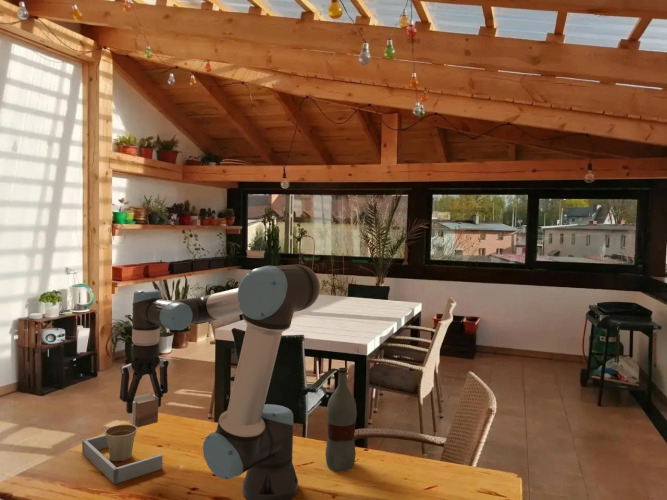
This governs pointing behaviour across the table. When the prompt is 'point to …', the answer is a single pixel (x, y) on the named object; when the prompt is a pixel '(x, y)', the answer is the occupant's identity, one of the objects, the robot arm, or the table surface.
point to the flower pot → (120, 441)
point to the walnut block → (146, 410)
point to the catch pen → (108, 469)
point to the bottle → (341, 427)
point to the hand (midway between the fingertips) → (143, 420)
